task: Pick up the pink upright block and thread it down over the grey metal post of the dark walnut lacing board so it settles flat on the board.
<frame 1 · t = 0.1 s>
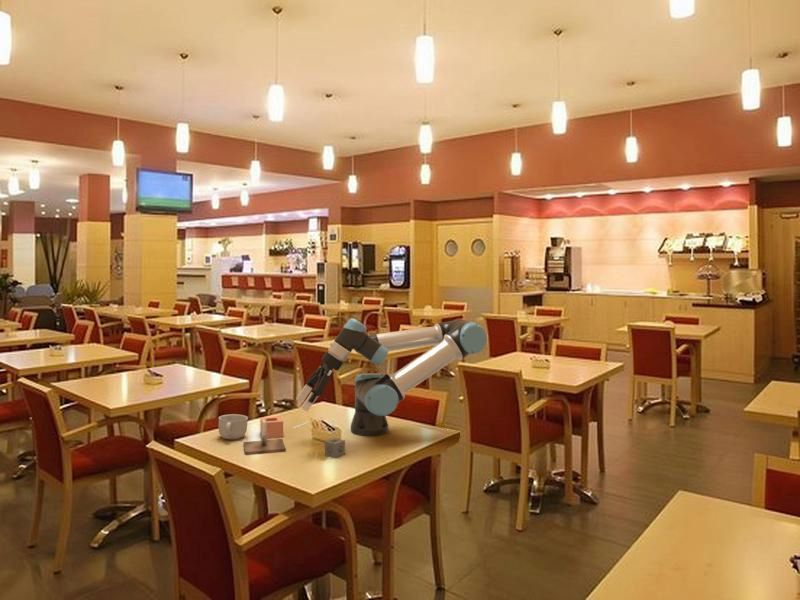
hand: (301, 405, 211), 15 cm above the table, tool tilted 35°, fingers open, 13 cm apart
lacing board: (264, 447, 210), on the table
butter knife: (311, 421, 248), on the table
teacup: (231, 439, 221), on the table
dice cube: (334, 455, 204), on the table
pink upright block: (271, 434, 227), on the table
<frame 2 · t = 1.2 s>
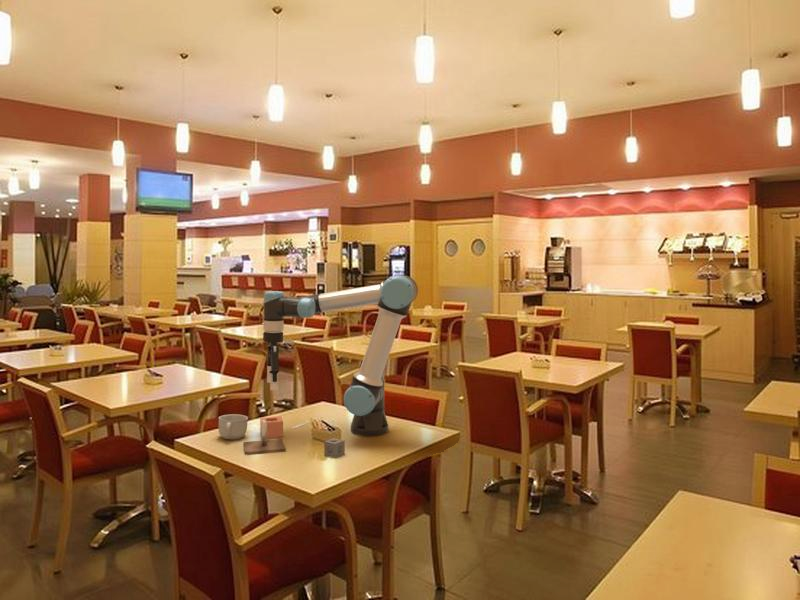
hand: (272, 386, 225), 19 cm above the table, tool pointing down, fingers open, 13 cm apart
nothing on the table moved.
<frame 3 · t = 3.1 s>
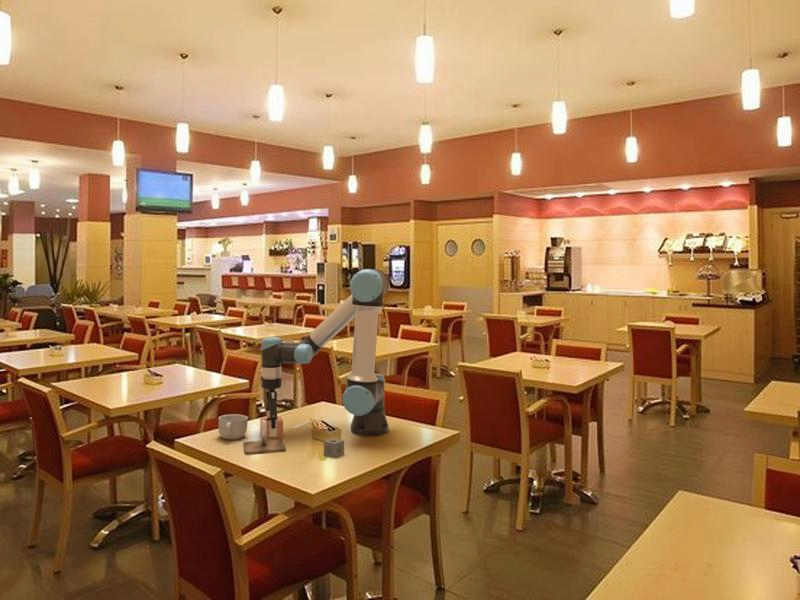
hand: (271, 431, 227), 1 cm above the table, tool pointing down, fingers open, 13 cm apart
nothing on the table moved.
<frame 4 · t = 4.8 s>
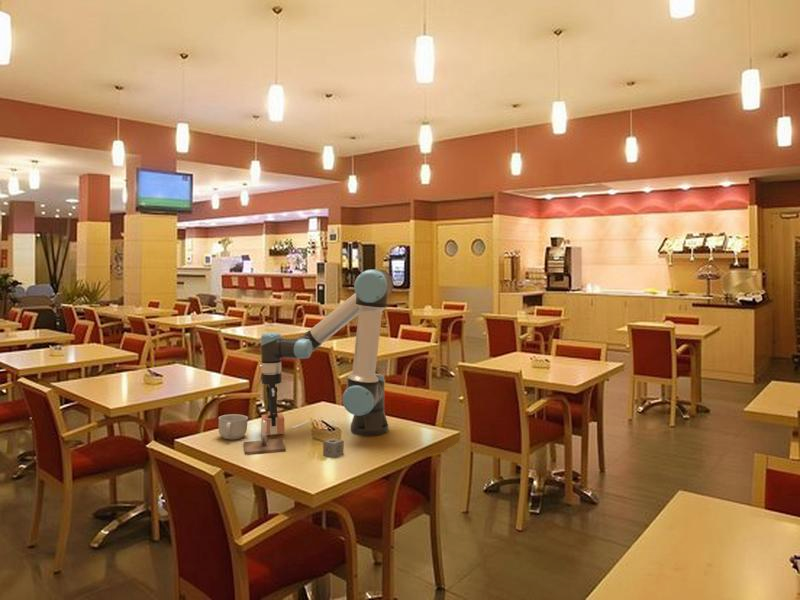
hand: (272, 430, 227), 2 cm above the table, tool pointing down, fingers closed on pink upright block, 8 cm apart
pink upright block: (273, 431, 227), point 1 cm above the table, touching gripper
everything else where it was.
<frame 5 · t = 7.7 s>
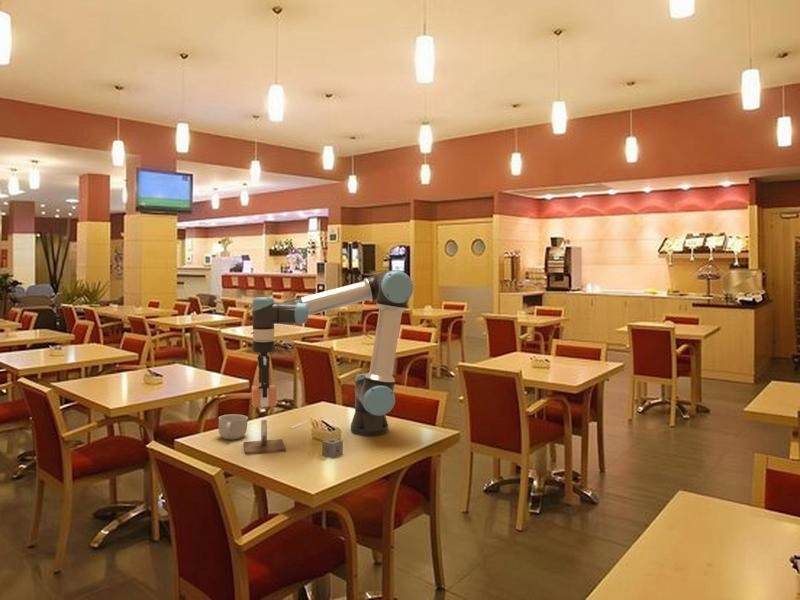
hand: (263, 403, 209), 16 cm above the table, tool pointing down, fingers closed on pink upright block, 8 cm apart
pink upright block: (264, 404, 209), point 16 cm above the table, touching gripper
when the fingers open (4 cm above the table, at t = 10.7 s): pink upright block drops 2 cm, resting on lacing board.
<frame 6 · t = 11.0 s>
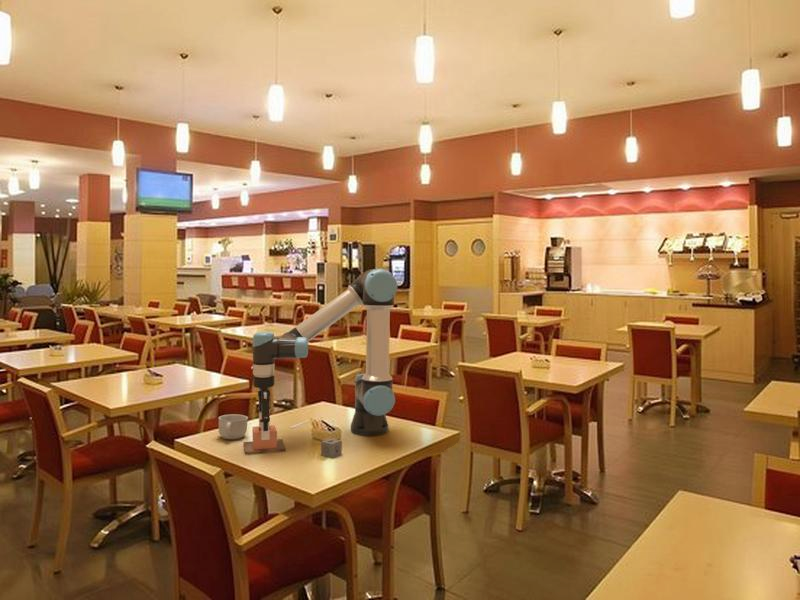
hand: (264, 434, 210), 5 cm above the table, tool pointing down, fingers open, 12 cm apart
pink upright block: (264, 445, 210), point 1 cm above the table, touching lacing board
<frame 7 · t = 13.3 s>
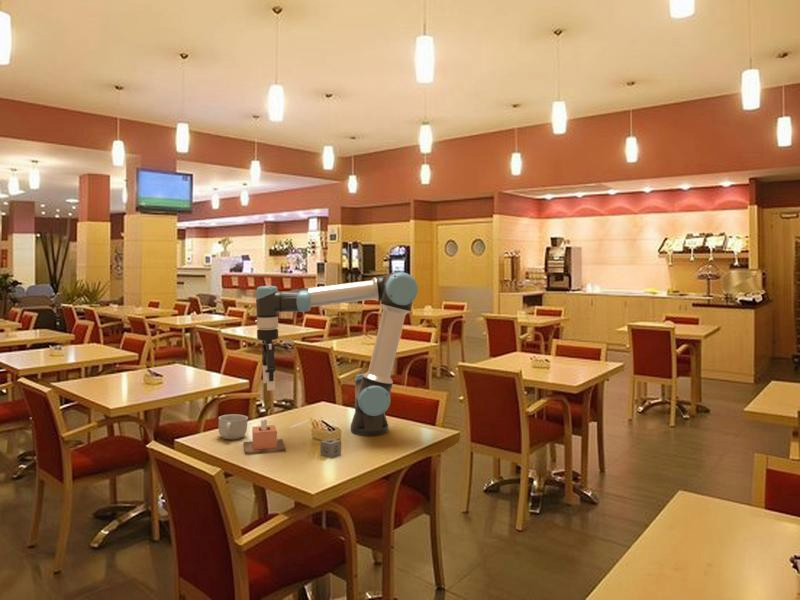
hand: (269, 386, 213), 22 cm above the table, tool pointing down, fingers open, 13 cm apart
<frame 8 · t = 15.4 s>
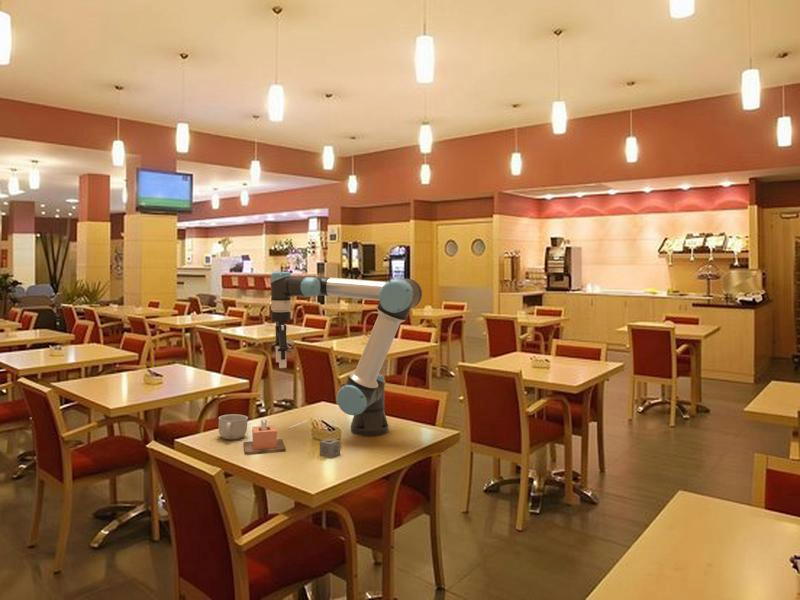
hand: (281, 365, 229), 27 cm above the table, tool pointing down, fingers open, 13 cm apart
at the end: pink upright block 0.1 cm from the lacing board (horizontally); pink upright block point 1.0 cm above the table; the gripper is holding nothing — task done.
